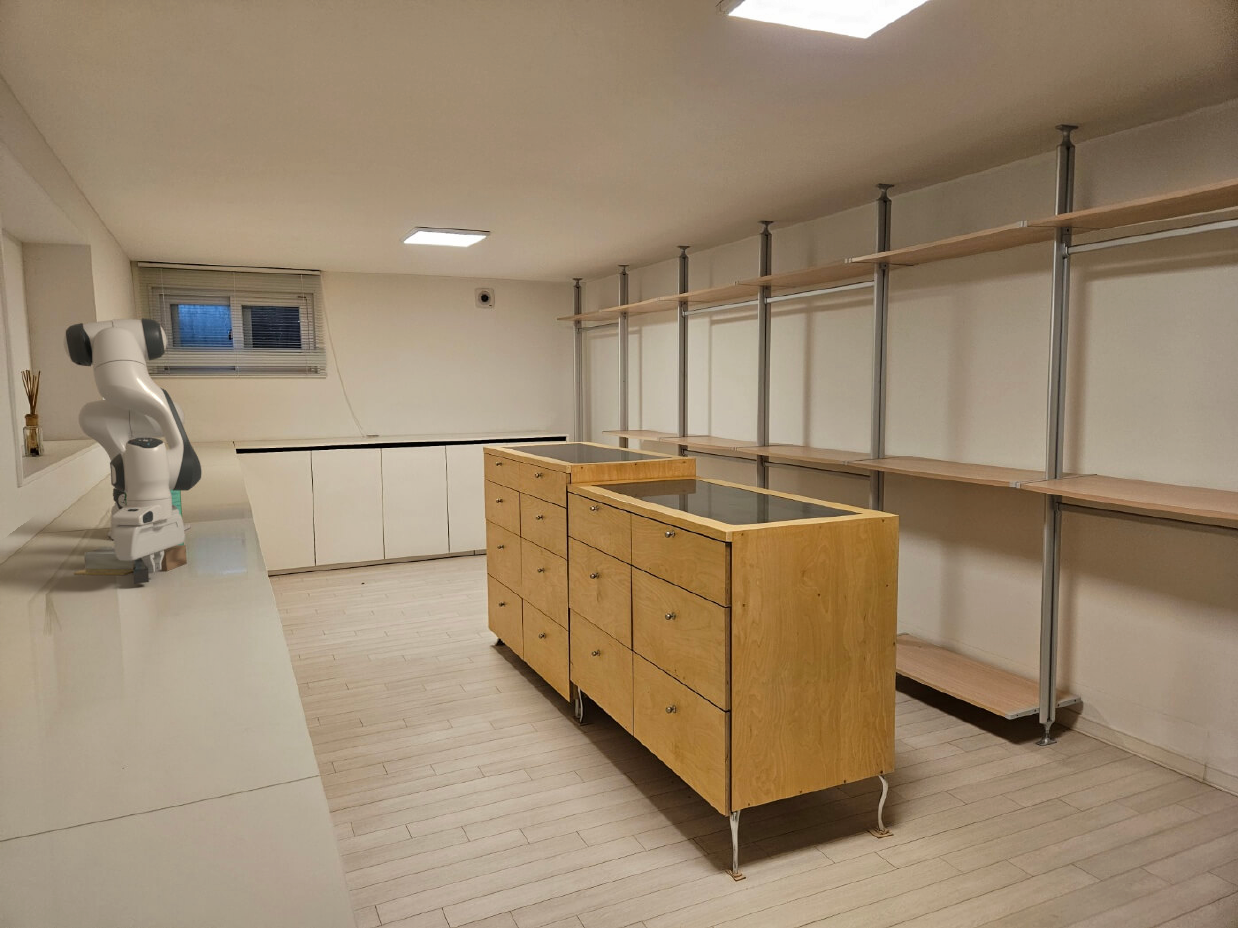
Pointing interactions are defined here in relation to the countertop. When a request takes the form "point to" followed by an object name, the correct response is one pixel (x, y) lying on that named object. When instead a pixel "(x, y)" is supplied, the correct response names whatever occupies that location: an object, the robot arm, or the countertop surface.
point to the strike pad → (104, 571)
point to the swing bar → (140, 571)
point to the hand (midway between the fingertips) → (153, 571)
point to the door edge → (108, 560)
